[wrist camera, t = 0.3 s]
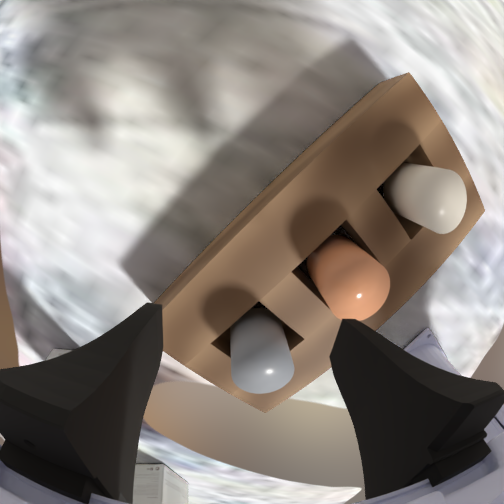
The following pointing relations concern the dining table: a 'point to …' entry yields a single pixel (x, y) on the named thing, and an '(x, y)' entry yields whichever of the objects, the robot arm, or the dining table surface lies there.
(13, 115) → the dining table surface
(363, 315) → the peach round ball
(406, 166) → the cream plunger
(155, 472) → the skincare box
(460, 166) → the walnut button box
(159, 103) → the dining table surface
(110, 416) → the robot arm
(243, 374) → the slate plunger
